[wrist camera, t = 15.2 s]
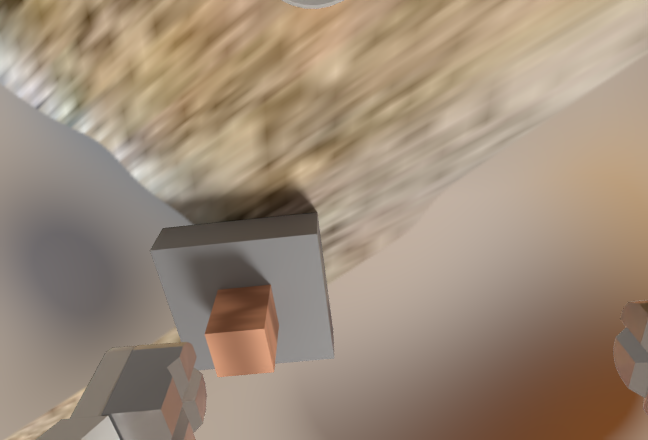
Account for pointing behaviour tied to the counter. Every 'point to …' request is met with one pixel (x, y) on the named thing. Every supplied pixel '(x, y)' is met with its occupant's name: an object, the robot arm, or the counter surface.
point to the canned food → (312, 3)
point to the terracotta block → (243, 331)
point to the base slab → (249, 279)
